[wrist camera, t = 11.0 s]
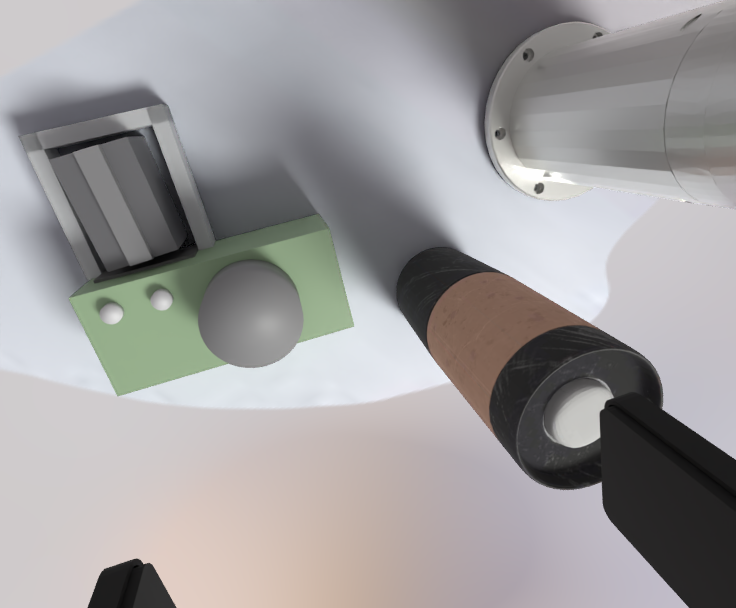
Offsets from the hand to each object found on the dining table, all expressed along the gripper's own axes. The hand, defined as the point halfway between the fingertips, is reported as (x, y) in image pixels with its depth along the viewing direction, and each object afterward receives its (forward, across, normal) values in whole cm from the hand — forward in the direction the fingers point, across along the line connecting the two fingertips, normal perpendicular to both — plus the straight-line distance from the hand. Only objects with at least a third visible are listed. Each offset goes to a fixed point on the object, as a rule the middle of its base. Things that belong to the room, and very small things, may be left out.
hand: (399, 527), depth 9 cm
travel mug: (+28, -10, +7) cm, 31 cm away
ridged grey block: (+28, +10, -6) cm, 31 cm away
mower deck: (+28, +6, -3) cm, 29 cm away
